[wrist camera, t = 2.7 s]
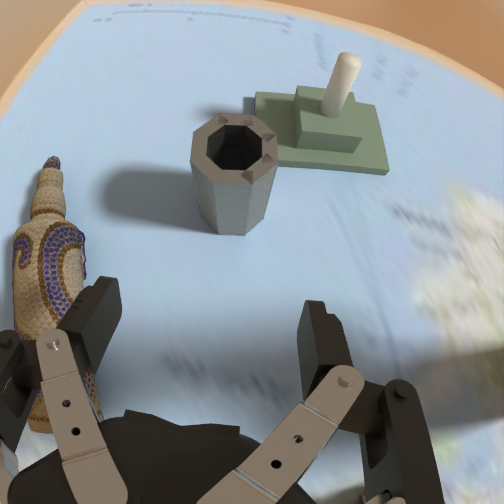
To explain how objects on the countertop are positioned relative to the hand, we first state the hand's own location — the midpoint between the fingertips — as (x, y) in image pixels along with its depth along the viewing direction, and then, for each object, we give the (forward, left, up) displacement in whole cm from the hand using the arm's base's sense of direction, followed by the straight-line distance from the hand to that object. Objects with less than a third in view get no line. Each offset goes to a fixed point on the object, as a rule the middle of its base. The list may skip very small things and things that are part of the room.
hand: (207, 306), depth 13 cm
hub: (-1, -11, -14) cm, 18 cm away
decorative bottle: (+14, -2, -15) cm, 21 cm away
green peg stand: (-10, -20, -14) cm, 26 cm away
